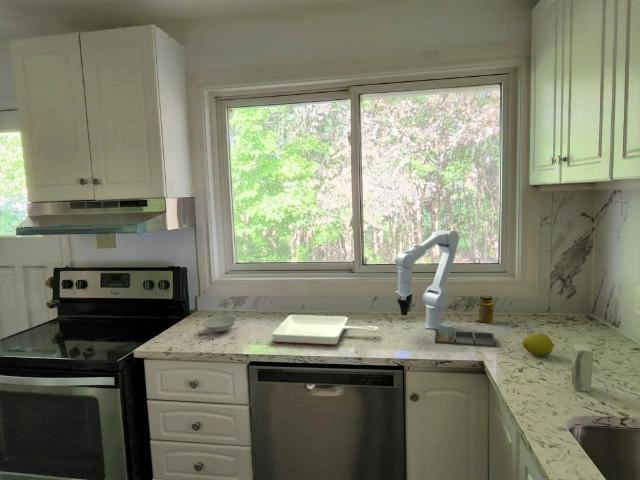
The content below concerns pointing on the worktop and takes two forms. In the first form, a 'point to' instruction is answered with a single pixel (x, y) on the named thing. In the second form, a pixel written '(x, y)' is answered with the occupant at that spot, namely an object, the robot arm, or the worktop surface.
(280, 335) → the pan
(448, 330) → the pale blue block
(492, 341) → the tray
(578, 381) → the box
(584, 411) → the worktop surface
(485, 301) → the condiment
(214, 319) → the dish
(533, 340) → the lemon
